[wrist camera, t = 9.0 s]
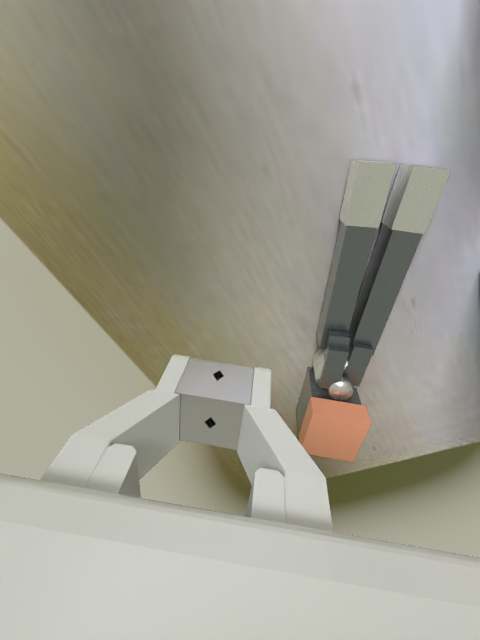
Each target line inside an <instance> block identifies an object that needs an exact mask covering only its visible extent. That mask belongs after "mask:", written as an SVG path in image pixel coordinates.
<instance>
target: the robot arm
mask: <svg viewBox="0 0 480 640" xmlns="http://www.w3.org/2000/svg"><path fill="white" fill-rule="evenodd" d="M271 373H272V371H271V369H267V368H259V367H249V366H242V365H236V364H229V363H222V362H218V361H212V360H207V359H201V358H195V357H189V356H183V355H177V354H174V355H173V356H172V357H171V359H170V361H169V363H168V365H167V367H166V369H165V371H164V373H163V375H162V377H161V379H160V381H159V383H158V385H157V387H156V389H155V390H151V389H150V390H148V391H146V392H144V393H143V394H141V395H139V396H138V397H136V398H134V399H132V400H131V401H129V402H127V403H126V404H124V405H122V406H120V407H119V408H117V409H115V410H113V411H112V412H110V413H108V414H106V415H105V416H103V417H101V418H100V419H98V420H96V421H94V422H93V423H91V424H89V425H87V426H86V427H84V428H82V429H81V430H79V431H77V432H75V433H74V434H72V436H71V437H70V438H69V440H68V441H67V443H66V444H65V445H64V447H63V448H62V450H61V451H60V452H59V454H58V455H57V457H56V458H55V460H54V461H53V462H52V464H51V465H50V467H49V468H48V470H47V471H46V472H45V474H44V475H43V477H42V478H41V479H40V480H35V479H29V478H23V477H18V476H12V475H6V474H0V640H480V558H479V557H473V556H468V555H461V554H456V553H451V552H445V551H439V550H433V549H428V548H422V547H416V546H411V545H405V544H399V543H393V542H388V541H382V540H376V539H371V538H365V537H360V536H354V535H348V534H342V533H337V532H333V528H332V520H331V514H330V507H329V499H328V492H327V485H326V478H325V476H324V475H323V473H322V472H321V471H320V469H319V468H318V467H317V465H316V464H315V463H314V461H313V460H312V459H311V457H310V456H309V454H308V453H307V452H306V450H305V449H304V448H303V446H302V445H301V444H300V442H299V441H298V440H297V438H296V437H295V435H294V434H293V433H292V431H291V430H290V429H289V427H288V426H287V425H286V423H285V422H284V420H283V419H282V418H281V416H280V415H279V414H278V412H277V411H276V410H275V409H270V408H271ZM179 441H186V442H193V443H201V444H208V445H213V446H218V447H223V448H228V449H233V450H237V453H238V455H239V458H240V460H241V462H242V465H243V467H244V469H245V472H246V474H247V476H248V478H249V481H250V483H251V485H252V488H251V492H250V497H249V501H248V505H247V510H246V514H245V516H239V515H234V514H227V513H221V512H216V511H211V510H205V509H199V508H193V507H188V506H182V505H176V504H171V503H165V502H160V501H154V500H148V499H142V498H141V497H140V485H139V480H140V479H141V478H142V477H143V476H144V475H145V474H146V473H147V472H148V471H149V470H150V469H151V468H152V467H154V466H155V465H156V464H157V463H158V462H159V461H160V460H161V459H162V458H163V457H164V456H165V455H166V454H167V453H168V452H169V451H170V450H172V449H173V448H174V447H175V446H176V445H177V444H178V443H179Z"/></svg>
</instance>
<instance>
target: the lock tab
mask: <svg viewBox="0 0 480 640" xmlns="http://www.w3.org/2000/svg"><path fill="white" fill-rule="evenodd" d="M370 426H371V421H370V417H369V414H368V411H367V408H366V406H364V405H358V404H352V403H346V402H340V401H334V400H328V399H322V398H316V397H310V401H309V404H308V407H307V410H306V414H305V417H304V420H303V423H302V426H301V430H300V433H299V442H300V444H301V445H302V446H303V448H304V449H305V450H306V452H307V453H308V454H309V455H315V456H321V457H326V458H332V459H338V460H344V461H349V462H354V460H355V458H356V455H357V453H358V451H359V449H360V447H361V445H362V443H363V441H364V438H365V436H366V434H367V432H368V430H369V428H370Z"/></svg>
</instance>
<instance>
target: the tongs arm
mask: <svg viewBox="0 0 480 640" xmlns="http://www.w3.org/2000/svg"><path fill="white" fill-rule="evenodd" d="M395 168H396V164H395V163H388V162H378V161H363V160H351V165H350V169H349V174H348V179H347V184H346V188H345V193H344V198H343V203H342V207H341V212H340V217H339V218H340V220H341V222H340V227H339V232H338V236H337V241H336V246H335V250H334V255H333V260H332V264H331V269H330V274H329V279H328V283H327V288H326V293H325V297H324V302H323V307H322V311H321V316H320V321H319V325H318V330H317V338H318V344H319V348H320V349H324V353H323V356H324V364H323V368H322V372H321V377H320V381H319V387H320V388H326V389H328V390H329V394H330V396H331V397H332V398H333V399H335V400H346V399H348V398H350V397H351V396H352V394H353V388H352V385H351V382H350V380H349V379H347V378H345V377H342V375H343V372H344V368H345V365H346V361H347V358H348V354H349V351H348V345H349V341H350V335H349V332H348V330H349V326H350V323H351V319H352V315H353V312H354V308H355V304H356V301H357V297H358V293H359V290H360V286H361V282H362V279H363V275H364V271H365V268H366V264H367V260H368V257H369V253H370V249H371V246H372V242H373V238H374V235H375V231H376V228H379V225H380V222H381V218H382V215H383V211H384V207H385V204H386V200H387V196H388V193H389V189H390V186H391V182H392V178H393V175H394V171H395Z"/></svg>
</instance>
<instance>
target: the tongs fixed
mask: <svg viewBox="0 0 480 640" xmlns="http://www.w3.org/2000/svg"><path fill="white" fill-rule="evenodd" d="M450 172H451V170H445V169H438V168H431V167H423V166H415V165H408V164H400V167H399V170H398V173H397V176H396V179H395V182H394V185H393V188H392V191H391V194H390V197H389V200H388V203H387V206H386V209H385V212H384V215H383V218H382V221H381V222H382V223H383V225H382V228H381V231H380V234H379V237H378V239H377V242H376V245H375V248H374V251H373V254H372V257H371V260H370V263H369V266H368V269H367V272H366V275H365V278H364V281H363V284H362V287H361V290H360V293H359V296H358V299H357V302H356V305H355V308H354V312H353V315H352V319H351V323H350V326H349V330H348V332H349V335H350V341H349V345H348V351H349V354H348V358H347V361H346V365H345V368H344V372H343V375H342V377H345V378H347V379H349V380H350V382H351V385H352V388H353V394H352V396H351V397H350V398H348V399H346V400H335V399H333V398H332V397H331V396H330V394H329V390H328V389H326V388H320V387H319V381H320V377H321V372H322V368H323V364H324V356H323V353H324V349H318V350H317V351H316V353H315V354H314V356H313V368H310V367H308V370H307V373H306V377H305V380H304V384H303V387H302V391H301V394H300V398H299V401H298V405H297V408H296V415H297V433H298V441H299V433H300V430H301V426H302V423H303V420H304V417H305V414H306V410H307V407H308V404H309V401H310V397H316V398H322V399H328V400H334V401H340V402H346V403H352V404H358V405H361V402H360V399H359V396H358V392H357V389H356V387H357V386H359V385H360V383H361V380H362V378H363V375H364V373H365V370H366V368H367V366H368V363H369V361H370V358H371V356H373V354H374V351H375V349H376V346H377V344H378V342H379V339H380V337H381V334H382V332H383V329H384V327H385V324H386V322H387V320H388V317H389V315H390V312H391V310H392V307H393V305H394V302H395V300H396V297H397V295H398V293H399V290H400V288H401V285H402V283H403V280H404V278H405V275H406V273H407V270H408V268H409V266H410V263H411V261H412V258H413V256H414V253H415V251H416V248H417V246H418V243H419V241H420V239H421V236H422V234H425V233H426V230H427V228H428V226H429V223H430V221H431V218H432V216H433V213H434V211H435V209H436V206H437V204H438V201H439V199H440V197H441V194H442V192H443V189H444V187H445V184H446V182H447V180H448V177H449V175H450Z"/></svg>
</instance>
